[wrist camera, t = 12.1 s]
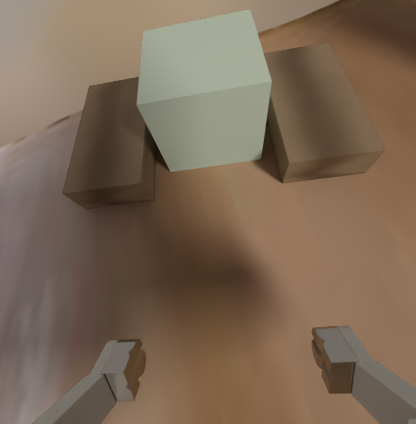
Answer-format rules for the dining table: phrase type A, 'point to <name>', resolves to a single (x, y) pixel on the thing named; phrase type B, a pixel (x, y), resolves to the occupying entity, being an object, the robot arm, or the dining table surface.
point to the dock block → (276, 119)
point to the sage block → (205, 91)
